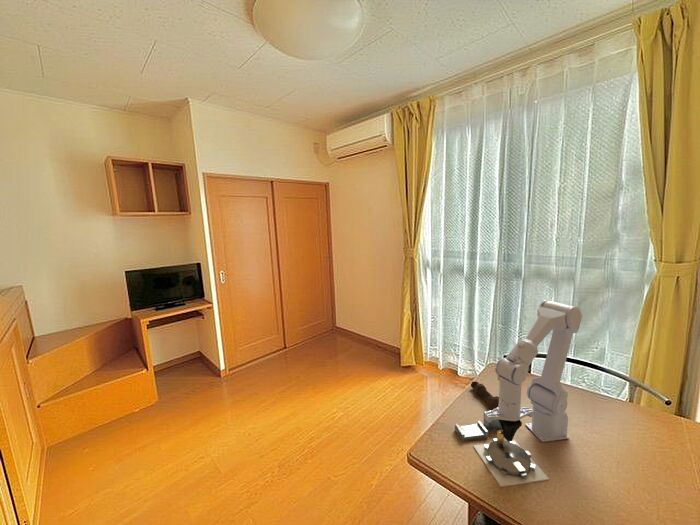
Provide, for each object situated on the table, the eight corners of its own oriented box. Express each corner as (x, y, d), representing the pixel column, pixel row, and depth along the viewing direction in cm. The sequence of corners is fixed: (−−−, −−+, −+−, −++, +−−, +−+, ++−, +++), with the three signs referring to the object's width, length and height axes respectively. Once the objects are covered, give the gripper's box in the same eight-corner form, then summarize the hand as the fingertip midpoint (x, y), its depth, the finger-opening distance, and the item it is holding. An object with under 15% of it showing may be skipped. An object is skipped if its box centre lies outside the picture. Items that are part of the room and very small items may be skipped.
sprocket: (514, 440, 92) (515, 423, 91) (546, 476, 79) (547, 457, 78) (475, 445, 90) (475, 428, 90) (501, 483, 77) (502, 464, 77)
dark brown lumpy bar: (475, 392, 122) (498, 414, 107) (465, 387, 121) (487, 409, 106) (481, 380, 121) (505, 400, 107) (472, 375, 120) (494, 396, 106)
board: (514, 441, 92) (514, 439, 92) (548, 479, 79) (549, 478, 78) (473, 446, 91) (473, 445, 91) (500, 487, 77) (500, 485, 77)
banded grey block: (497, 423, 101) (497, 409, 100) (502, 429, 98) (502, 415, 97) (483, 424, 100) (483, 411, 99) (488, 431, 97) (488, 417, 96)
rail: (479, 427, 99) (479, 420, 99) (488, 438, 94) (488, 431, 94) (454, 430, 98) (454, 423, 98) (461, 441, 93) (462, 434, 93)
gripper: (522, 388, 91) (520, 426, 93) (479, 393, 89) (478, 432, 91) (539, 402, 84) (537, 443, 86) (492, 407, 82) (491, 449, 85)
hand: (507, 439), depth 88 cm, fingers closed
